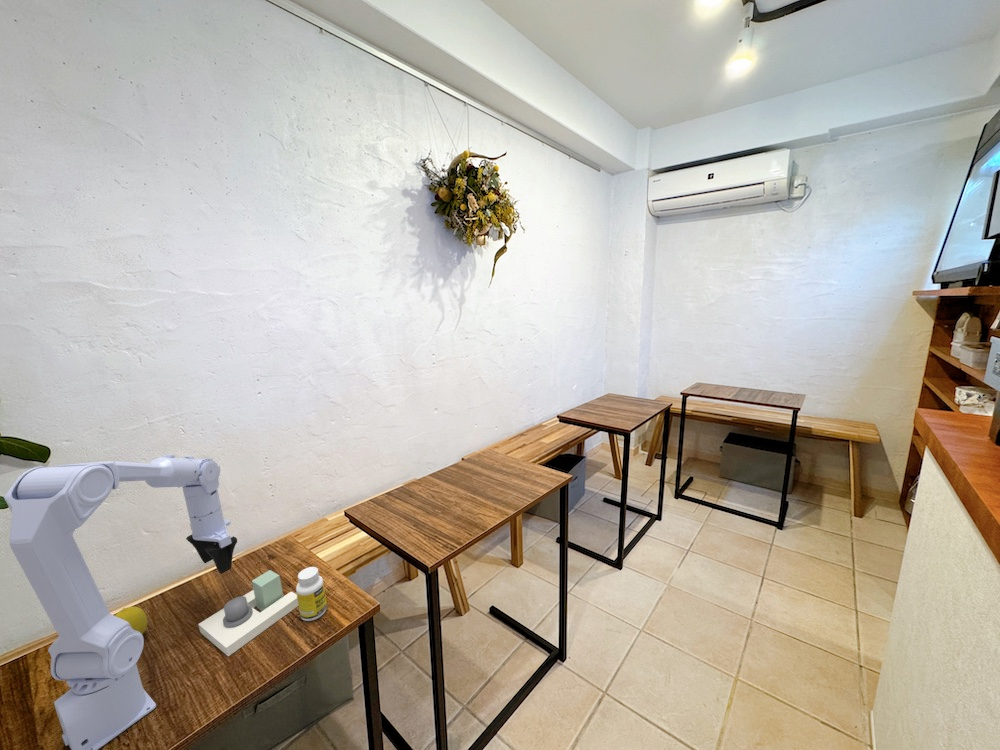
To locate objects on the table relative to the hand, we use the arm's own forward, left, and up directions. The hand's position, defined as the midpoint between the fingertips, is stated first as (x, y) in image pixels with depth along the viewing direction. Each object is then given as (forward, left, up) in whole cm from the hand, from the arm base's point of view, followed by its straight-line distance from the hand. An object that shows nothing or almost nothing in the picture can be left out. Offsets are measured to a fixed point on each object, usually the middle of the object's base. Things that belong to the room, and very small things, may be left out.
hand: (217, 565), depth 89 cm
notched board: (0, -11, -9) cm, 14 cm away
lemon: (-15, +5, -10) cm, 18 cm away
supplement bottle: (+8, -22, -10) cm, 25 cm away
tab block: (+4, -11, -10) cm, 15 cm away
